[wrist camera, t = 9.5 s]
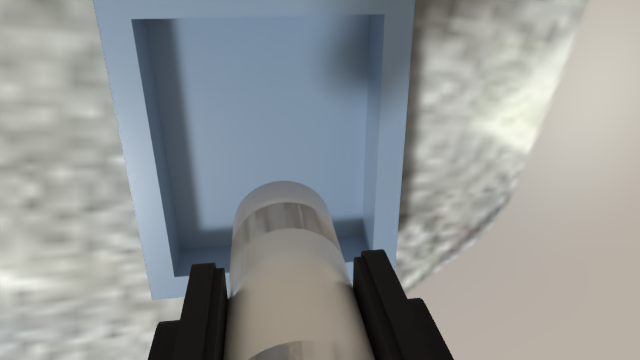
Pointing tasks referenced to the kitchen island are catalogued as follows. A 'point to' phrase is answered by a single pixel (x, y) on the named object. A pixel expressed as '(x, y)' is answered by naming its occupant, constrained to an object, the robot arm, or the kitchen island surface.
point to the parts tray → (256, 118)
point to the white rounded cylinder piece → (290, 281)
